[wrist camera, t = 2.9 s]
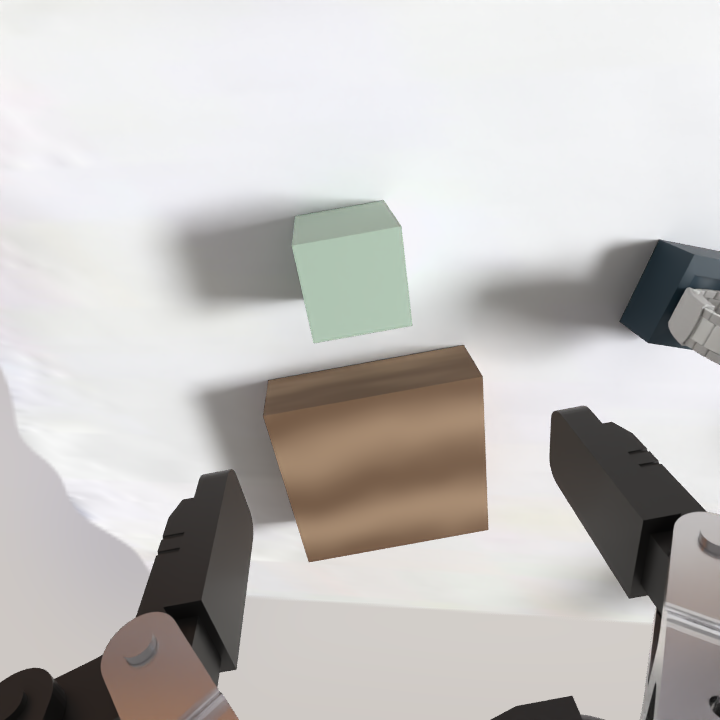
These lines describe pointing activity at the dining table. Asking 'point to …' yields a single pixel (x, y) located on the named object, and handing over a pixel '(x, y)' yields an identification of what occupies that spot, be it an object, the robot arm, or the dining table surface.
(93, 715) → the robot arm
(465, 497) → the plinth
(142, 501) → the dining table surface
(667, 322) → the watch
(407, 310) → the block
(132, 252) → the dining table surface
